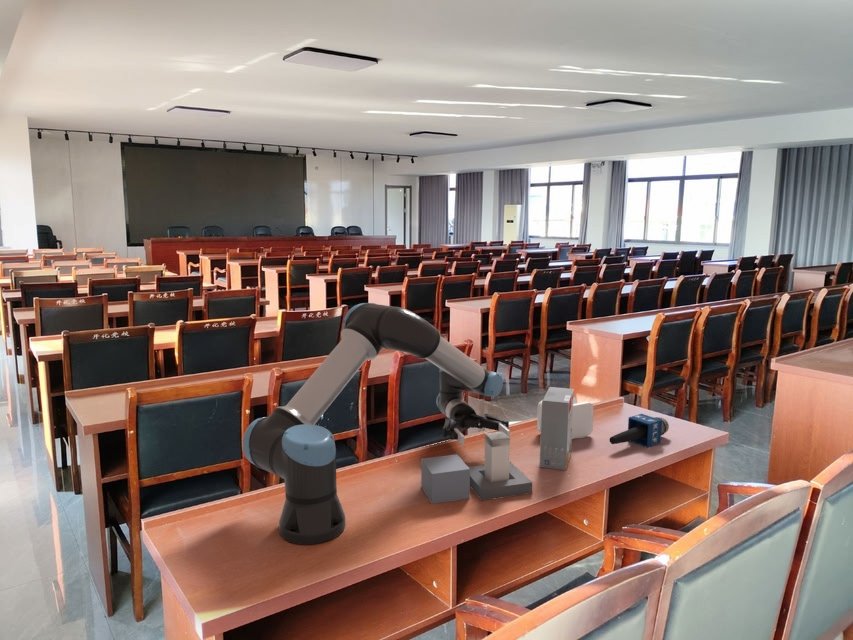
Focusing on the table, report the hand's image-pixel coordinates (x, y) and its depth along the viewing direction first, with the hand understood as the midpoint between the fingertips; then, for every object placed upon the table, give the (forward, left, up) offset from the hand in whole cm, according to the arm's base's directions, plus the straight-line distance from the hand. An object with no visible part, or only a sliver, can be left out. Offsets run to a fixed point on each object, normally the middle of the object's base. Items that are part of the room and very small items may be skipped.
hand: (486, 438), depth 169 cm
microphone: (+54, +6, -10) cm, 55 cm away
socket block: (0, -8, -10) cm, 13 cm away
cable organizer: (+35, +20, -10) cm, 42 cm away
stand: (-15, -8, -10) cm, 20 cm away
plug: (0, -8, -10) cm, 13 cm away
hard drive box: (+23, +3, -10) cm, 26 cm away
